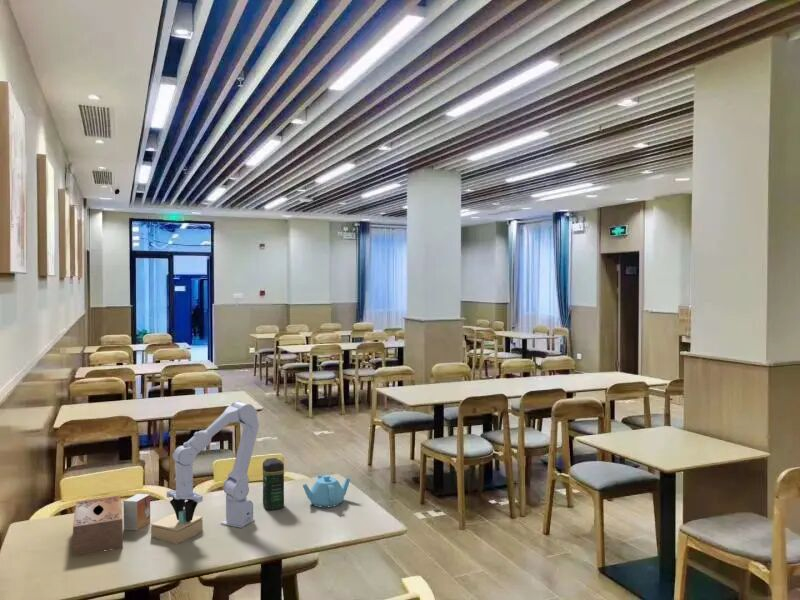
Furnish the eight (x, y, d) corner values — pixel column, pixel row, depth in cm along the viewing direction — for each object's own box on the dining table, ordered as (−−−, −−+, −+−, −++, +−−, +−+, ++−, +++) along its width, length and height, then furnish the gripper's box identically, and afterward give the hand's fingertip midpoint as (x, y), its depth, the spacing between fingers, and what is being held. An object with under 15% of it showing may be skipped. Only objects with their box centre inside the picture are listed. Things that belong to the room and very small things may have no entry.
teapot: (300, 506, 237) (299, 479, 237) (318, 494, 251) (318, 468, 251) (334, 511, 231) (334, 483, 231) (351, 498, 245) (351, 472, 245)
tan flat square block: (202, 518, 213) (202, 505, 213) (177, 531, 202) (177, 517, 202) (176, 513, 218) (176, 501, 218) (150, 525, 207) (150, 512, 207)
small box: (137, 531, 213) (136, 501, 213) (123, 529, 214) (122, 500, 214) (150, 522, 221) (150, 494, 221) (137, 521, 222) (137, 493, 222)
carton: (202, 530, 213) (202, 519, 213) (177, 543, 202) (177, 532, 202) (176, 525, 218) (176, 514, 218) (151, 538, 207) (150, 526, 207)
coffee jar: (286, 508, 234) (286, 461, 234) (266, 511, 231) (265, 464, 230) (280, 500, 243) (280, 455, 242) (261, 503, 239) (260, 457, 239)
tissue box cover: (76, 529, 215) (76, 501, 215) (120, 522, 222) (120, 495, 222) (73, 557, 192) (73, 526, 192) (122, 548, 199) (122, 519, 199)
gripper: (159, 482, 207) (160, 520, 208) (192, 487, 201) (192, 527, 202) (174, 476, 214) (175, 513, 214) (206, 481, 208) (207, 519, 208)
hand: (184, 519), depth 208 cm, fingers open, 4 cm apart
